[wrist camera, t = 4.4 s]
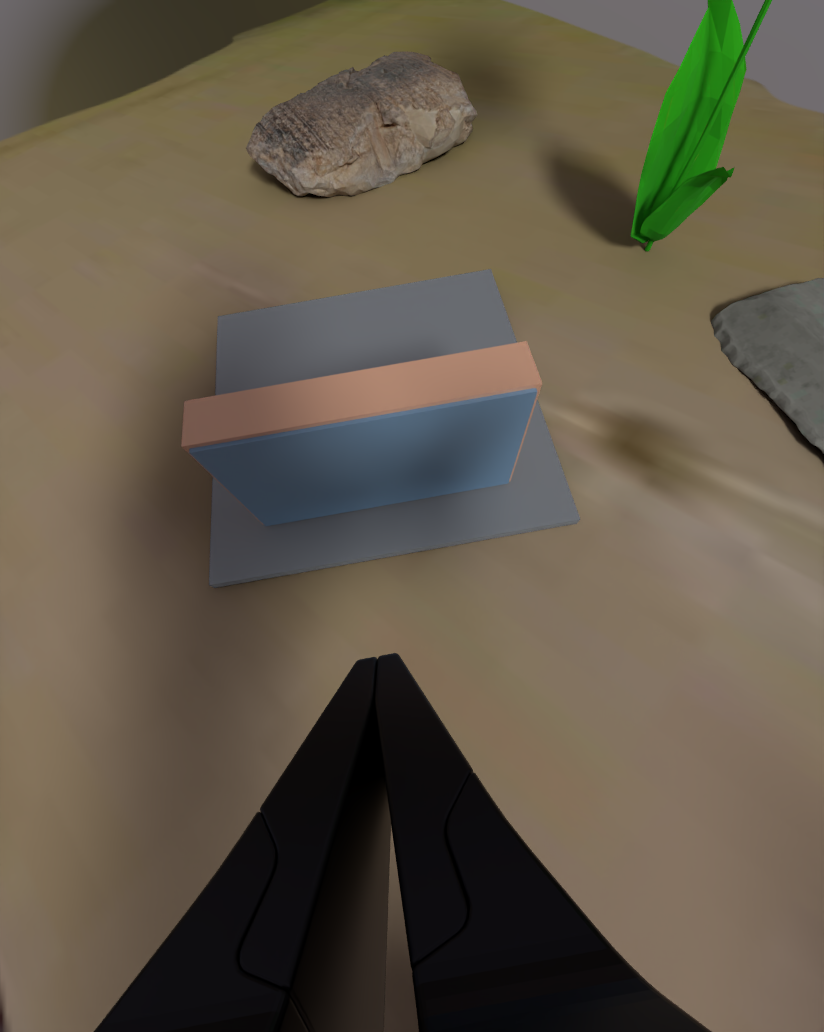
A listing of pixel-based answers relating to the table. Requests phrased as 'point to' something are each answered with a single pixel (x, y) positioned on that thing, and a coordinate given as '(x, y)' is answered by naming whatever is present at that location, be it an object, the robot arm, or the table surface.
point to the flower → (693, 125)
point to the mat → (363, 345)
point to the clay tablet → (364, 127)
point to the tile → (368, 434)
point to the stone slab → (781, 349)
